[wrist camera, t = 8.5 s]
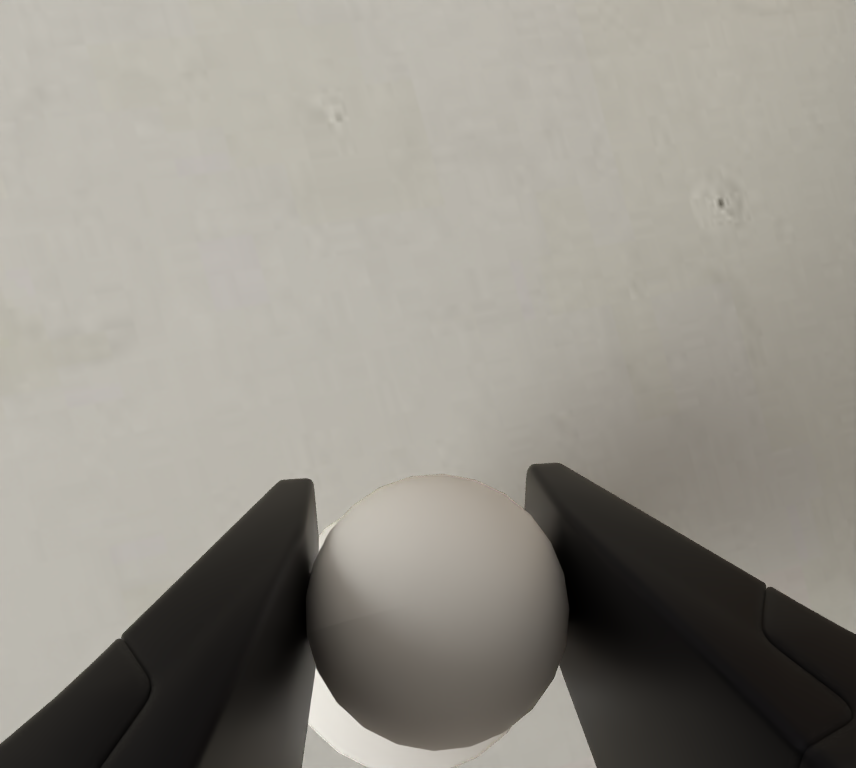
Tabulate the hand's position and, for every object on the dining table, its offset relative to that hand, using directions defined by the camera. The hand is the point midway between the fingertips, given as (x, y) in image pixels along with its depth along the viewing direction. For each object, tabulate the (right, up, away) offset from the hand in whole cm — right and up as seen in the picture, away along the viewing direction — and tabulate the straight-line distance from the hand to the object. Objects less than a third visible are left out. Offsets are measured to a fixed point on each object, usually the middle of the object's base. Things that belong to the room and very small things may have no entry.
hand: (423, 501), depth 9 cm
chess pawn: (0, -4, +6) cm, 7 cm away
